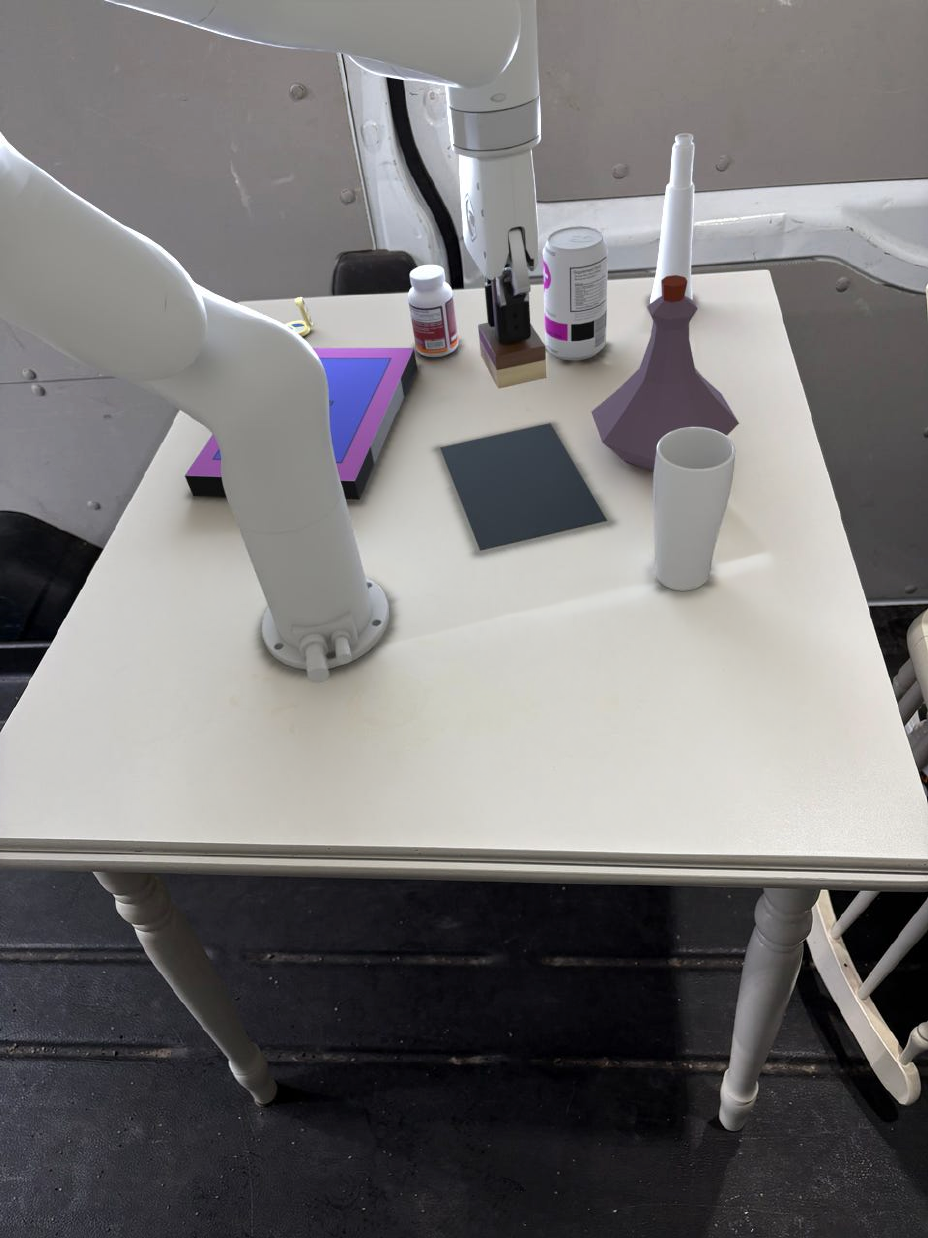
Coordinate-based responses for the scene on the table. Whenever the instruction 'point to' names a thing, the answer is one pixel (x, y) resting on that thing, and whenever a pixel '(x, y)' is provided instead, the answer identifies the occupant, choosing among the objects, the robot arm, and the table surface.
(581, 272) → the supplement can
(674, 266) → the cosmetic bottle
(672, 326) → the flask
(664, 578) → the drinking glass
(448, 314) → the pill bottle
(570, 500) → the mat
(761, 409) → the table surface
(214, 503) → the table surface
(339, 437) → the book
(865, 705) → the table surface
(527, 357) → the brush
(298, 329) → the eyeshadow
